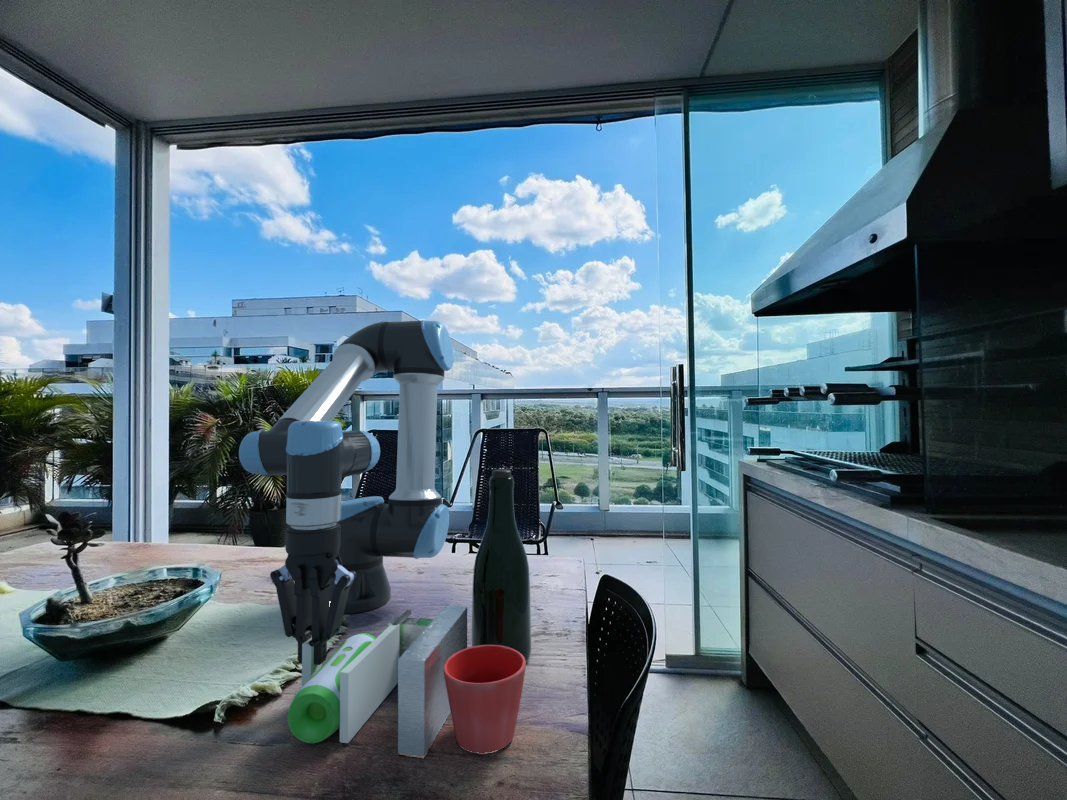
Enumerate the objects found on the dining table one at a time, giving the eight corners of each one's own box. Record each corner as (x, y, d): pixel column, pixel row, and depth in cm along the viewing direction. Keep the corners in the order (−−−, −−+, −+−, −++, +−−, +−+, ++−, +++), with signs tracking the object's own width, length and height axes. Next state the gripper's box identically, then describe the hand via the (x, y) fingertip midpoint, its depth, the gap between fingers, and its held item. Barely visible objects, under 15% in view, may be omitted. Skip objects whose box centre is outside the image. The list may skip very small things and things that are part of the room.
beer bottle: (526, 642, 92) (526, 465, 93) (536, 671, 82) (535, 472, 83) (469, 646, 91) (470, 466, 91) (472, 676, 80) (473, 473, 81)
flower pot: (447, 713, 71) (447, 645, 71) (523, 709, 72) (523, 641, 72) (439, 766, 60) (439, 686, 60) (528, 760, 61) (528, 681, 61)
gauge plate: (339, 742, 64) (340, 670, 64) (405, 664, 84) (405, 609, 84) (348, 743, 64) (348, 671, 64) (412, 665, 83) (412, 610, 84)
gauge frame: (325, 746, 64) (326, 652, 64) (395, 667, 83) (395, 595, 84) (424, 758, 61) (424, 661, 62) (471, 674, 81) (471, 601, 81)
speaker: (342, 674, 81) (342, 628, 81) (385, 676, 81) (386, 629, 81) (283, 747, 64) (283, 688, 64) (338, 749, 63) (338, 690, 63)
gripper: (257, 527, 71) (254, 694, 70) (339, 532, 69) (337, 704, 68) (291, 517, 78) (289, 667, 78) (367, 520, 76) (365, 675, 75)
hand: (311, 684), depth 73 cm, fingers closed
